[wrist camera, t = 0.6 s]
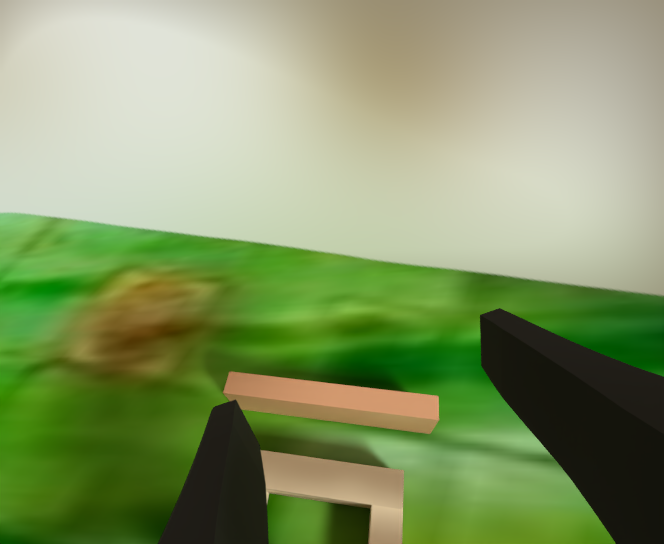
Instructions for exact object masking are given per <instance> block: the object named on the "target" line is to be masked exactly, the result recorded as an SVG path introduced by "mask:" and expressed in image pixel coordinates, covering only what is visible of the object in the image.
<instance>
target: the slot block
mask: <svg viewBox="0 0 664 544" xmlns="http://www.w3.org/2000/svg"><path fill="white" fill-rule="evenodd" d="M261 456H262V462H263V469H264V475H265V482H266V500H267V501H268V497H269V493H272V494H279V495H285V496H291V497H298V498H304V499H311V500H317V501H324V502H330V503H336V504H343V505H349V506H356V507H362V508H369V509H370V520H369V535H368V544H402V524H403V486H404V470H397V469H390V468H383V467H376V466H369V465H362V464H355V463H348V462H341V461H334V460H327V459H320V458H313V457H306V456H299V455H292V454H285V453H278V452H271V451H264V450H261Z"/></svg>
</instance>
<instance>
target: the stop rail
mask: <svg viewBox="0 0 664 544" xmlns="http://www.w3.org/2000/svg"><path fill="white" fill-rule="evenodd" d="M223 393H224V395H225V396H226V397H227V398H228V399H229V401H233V400H235V399H236V401H237V402H238V404H239V406H240V408H241V409H242V410H250V411H258V412H265V413H273V414H281V415H288V416H296V417H304V418H311V419H319V420H327V421H335V422H342V423H350V424H358V425H365V426H373V427H381V428H388V429H396V430H404V431H411V432H419V433H427V434H430V433H431V432H432V430H433V429H434V427H435V425H436V424H437V422H438V421H439V400H438V396H433V395H425V394H417V393H408V392H400V391H391V390H383V389H374V388H366V387H358V386H349V385H341V384H332V383H324V382H315V381H307V380H299V379H290V378H282V377H273V376H265V375H256V374H248V373H240V372H231V371H230V372H229V375H228V378H227V381H226V385H225V388H224V391H223Z"/></svg>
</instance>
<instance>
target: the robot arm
mask: <svg viewBox="0 0 664 544" xmlns="http://www.w3.org/2000/svg"><path fill="white" fill-rule="evenodd" d="M480 329H481V366H482V368H483V369H484V371H485V372H486V374H487V375H488V377H489V378H490V380H491V382H492V383H493V385H494V386H495V387H496V389H497V390H498V392H499V393H500V395H501V396H502V397H503V399H504V400H505V401H506V402H507V404H508V405H509V406H510V407H511V408H512V409H513V411H514V412H515V413H516V414H517V415H518V417H519V418H520V419H521V420H522V421H523V422H524V424H525V425H526V426H527V427H528V428H529V429H530V431H531V432H532V433H533V434H534V435H535V436H536V438H537V439H538V440H539V441H540V442H541V443H542V445H543V446H544V447H545V448H546V449H547V450H548V452H549V453H550V454H551V455H552V456H553V457H554V459H555V460H556V461H557V462H558V463H559V465H560V466H561V467H562V468H563V470H564V471H565V472H566V473H567V475H568V476H569V477H570V478H571V480H572V481H573V483H574V484H575V485H576V487H577V488H578V490H579V491H580V492H581V494H582V495H583V497H584V498H585V499H586V501H587V502H588V504H589V505H590V506H591V508H592V509H593V511H594V512H595V513H596V515H597V516H598V518H599V519H600V521H601V522H602V524H603V525H604V526H605V528H606V529H607V531H608V532H609V534H610V535H611V537H612V538H613V540H614V541H615V543H616V544H664V377H663V376H660V375H657V374H654V373H651V372H648V371H645V370H642V369H639V368H637V367H634V366H631V365H628V364H626V363H623V362H621V361H618V360H616V359H613V358H610V357H608V356H605V355H603V354H600V353H598V352H595V351H593V350H591V349H588V348H586V347H583V346H581V345H579V344H576V343H574V342H572V341H570V340H567V339H565V338H563V337H561V336H558V335H556V334H554V333H552V332H550V331H548V330H545V329H543V328H541V327H539V326H537V325H535V324H532V323H530V322H528V321H526V320H524V319H522V318H520V317H518V316H515V315H513V314H511V313H509V312H507V311H504V310H502V309H500V308H499V309H496V310H493V311H490V312H488V313H485V314H482V315H480ZM158 544H268V522H267V500H266V482H265V475H264V469H263V462H262V456H261V450H260V445H259V443H258V441H257V439H256V437H255V435H254V433H253V431H252V430H251V428H250V426H249V424H248V422H247V420H246V418H245V416H244V414H243V412H242V410H241V408H240V406H239V404H238V402H237V401H236V399H235V400H233V401H230V402H227V403H224V404H221V405H218V406H215V407H214V408H213V409H212V411H211V414H210V417H209V420H208V423H207V425H206V428H205V431H204V434H203V437H202V440H201V443H200V445H199V448H198V451H197V453H196V456H195V459H194V461H193V464H192V466H191V469H190V471H189V474H188V476H187V479H186V481H185V484H184V486H183V489H182V491H181V494H180V496H179V498H178V501H177V503H176V505H175V507H174V509H173V512H172V514H171V516H170V518H169V521H168V523H167V525H166V527H165V529H164V532H163V534H162V536H161V538H160V540H159V542H158Z"/></svg>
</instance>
